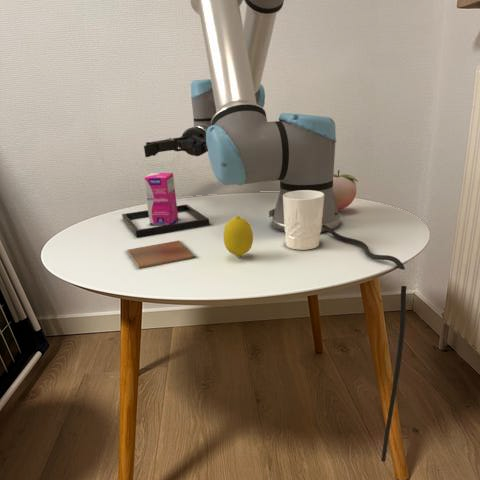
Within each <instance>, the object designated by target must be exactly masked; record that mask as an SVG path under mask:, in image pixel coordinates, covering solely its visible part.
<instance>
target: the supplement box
mask: <svg viewBox="0 0 480 480" xmlns="http://www.w3.org/2000/svg"><path fill="white" fill-rule="evenodd" d="M142 179H143V188H144V192H145V193H144V194H145V200H146V206H147V210H148V213H149V217H148V219H149V225H150V226H164V225H170V224H175V223H176V222H177V221H178V220H179V212H177V206H178V204H177V196H176V188H175V178H174V173H173V172H150V173H149V174H148V175H146V176H144V177H143V178H142Z"/></svg>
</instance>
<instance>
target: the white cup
mask: <svg viewBox="0 0 480 480" xmlns="http://www.w3.org/2000/svg"><path fill="white" fill-rule="evenodd" d="M323 204H324V193H322V192H319V191H312V190H299V191H291V192H287V193H285V194H283V210H284V227H285V246H286V247H287V248H288V249H292V250H298V251H299V250H300V251H304V250H306V251H307V250H312V249H315V248H318V247H319V246H320V239H321V233H322V232H321V226H322V217H323Z"/></svg>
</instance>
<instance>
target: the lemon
mask: <svg viewBox="0 0 480 480" xmlns="http://www.w3.org/2000/svg"><path fill="white" fill-rule="evenodd" d="M253 243H254V233H253V229H252V226H251V224H250V223H249V221H248V220H246V219H245V218H242V217H240V216H239V215H236V216H234V217H233V218H231V219H229V220H228V221H227V223H226V224H225V226H224V230H223V244H224V247H225V248H226V250H227V251H228V252H229V253H230V254H232V255H234V256H236V257H237V258H238V259H239V258H242V257H243V256H244V255H246V254H248V252H250V250H251V248H252V246H253Z"/></svg>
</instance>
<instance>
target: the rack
mask: <svg viewBox="0 0 480 480" xmlns="http://www.w3.org/2000/svg"><path fill="white" fill-rule="evenodd" d="M177 212H178V213H180V212H186V213H188V214H189V215H191V216H192V217H193V218H195V219H196V220H194V219H193V220H189V221H184V222H177V223H176V222H175V223H173V224H170V225H157V226H153V227H146V228H140V229H138V227H137V226H136V225H135V224H134V222H133V221H132V220H135V219H136V220H137V219H141V218H149V213H148V209H146V210H140V211H134V212H126V213H122V214H121V218H122V220H123V222H124V223H125V224H126V226H127V227H128V229H130V231H131V232H132V233H133V235H134V236H135V237H136V238H142V237H148V236H153V235H154V236H155V235H160V234H165V233H171V232H177V231H183V230H189V229H194V228H200V227H207V226H210V218H209V217H207V216H205V215H204V214H202V213H201V212H199V211H197V210H196V209H195V208H193V207H192V206H190V205H188V204H180V205H177Z"/></svg>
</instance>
